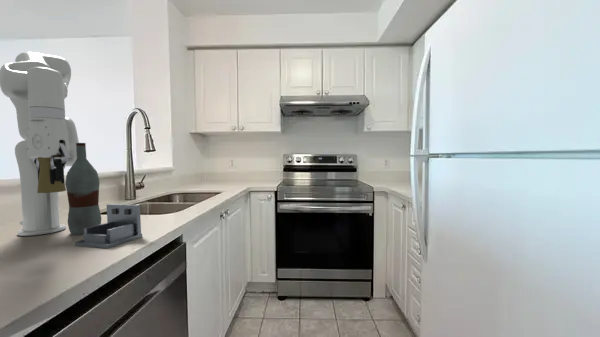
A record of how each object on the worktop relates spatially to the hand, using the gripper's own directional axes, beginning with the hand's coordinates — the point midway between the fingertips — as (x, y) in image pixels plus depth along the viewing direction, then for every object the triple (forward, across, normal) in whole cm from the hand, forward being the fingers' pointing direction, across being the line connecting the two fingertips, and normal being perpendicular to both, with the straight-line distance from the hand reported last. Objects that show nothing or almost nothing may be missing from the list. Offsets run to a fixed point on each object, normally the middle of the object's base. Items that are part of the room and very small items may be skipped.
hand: (51, 183), depth 81 cm
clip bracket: (+18, +8, +10) cm, 22 cm away
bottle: (+18, -11, +16) cm, 27 cm away
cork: (+2, 0, 0) cm, 2 cm away
